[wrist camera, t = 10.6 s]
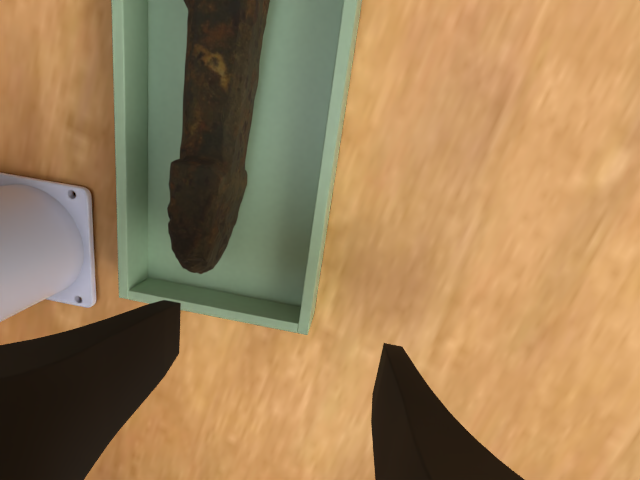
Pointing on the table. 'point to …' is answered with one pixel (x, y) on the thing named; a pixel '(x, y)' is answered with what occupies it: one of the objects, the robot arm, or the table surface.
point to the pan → (261, 160)
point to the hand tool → (214, 127)
